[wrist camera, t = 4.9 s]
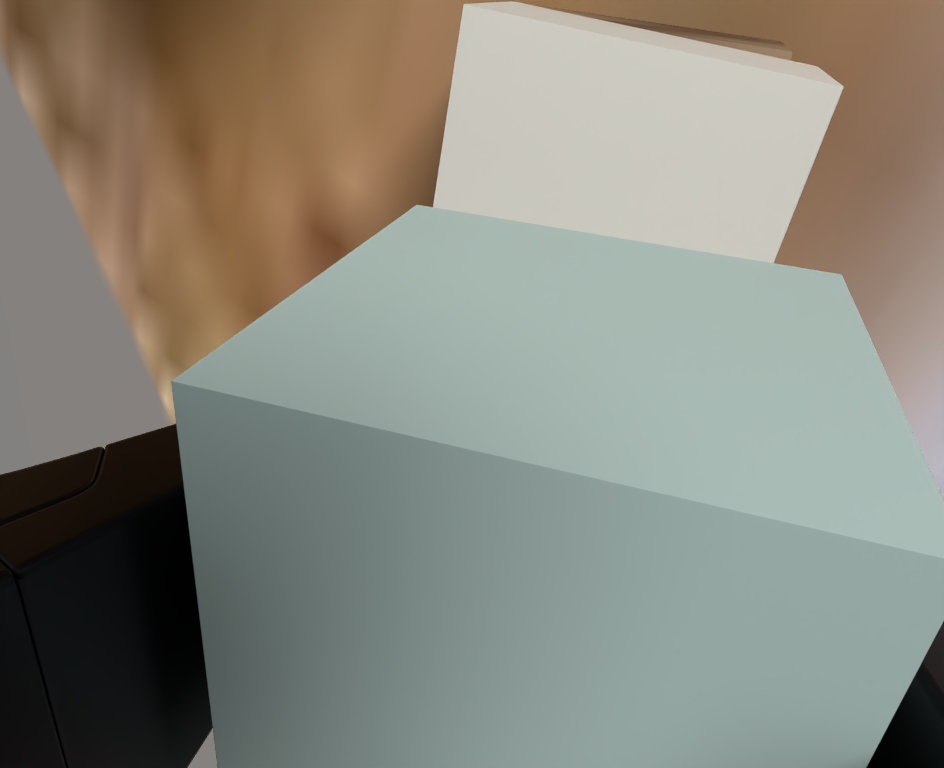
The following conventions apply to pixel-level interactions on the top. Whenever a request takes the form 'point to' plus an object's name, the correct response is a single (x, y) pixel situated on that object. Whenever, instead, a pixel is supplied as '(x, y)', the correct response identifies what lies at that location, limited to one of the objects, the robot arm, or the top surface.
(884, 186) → the top surface
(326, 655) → the painted cube
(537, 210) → the cream slab
